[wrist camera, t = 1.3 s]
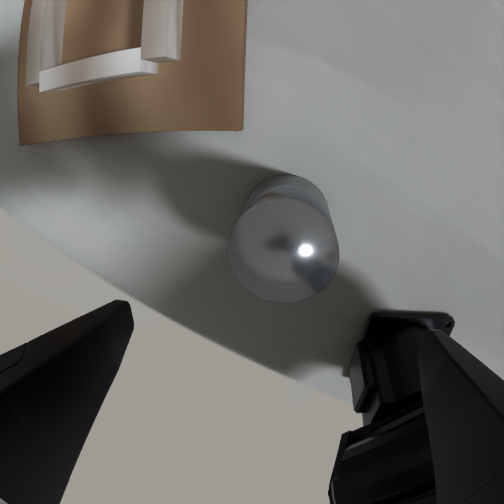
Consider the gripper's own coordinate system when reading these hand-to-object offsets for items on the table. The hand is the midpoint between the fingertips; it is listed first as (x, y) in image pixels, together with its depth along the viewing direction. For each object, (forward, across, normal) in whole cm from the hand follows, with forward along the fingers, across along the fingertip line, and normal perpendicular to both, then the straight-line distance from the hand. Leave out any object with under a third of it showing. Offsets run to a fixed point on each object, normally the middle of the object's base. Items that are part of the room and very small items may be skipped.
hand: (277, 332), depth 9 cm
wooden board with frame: (+9, +10, -12) cm, 18 cm away
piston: (+10, 0, 0) cm, 10 cm away
